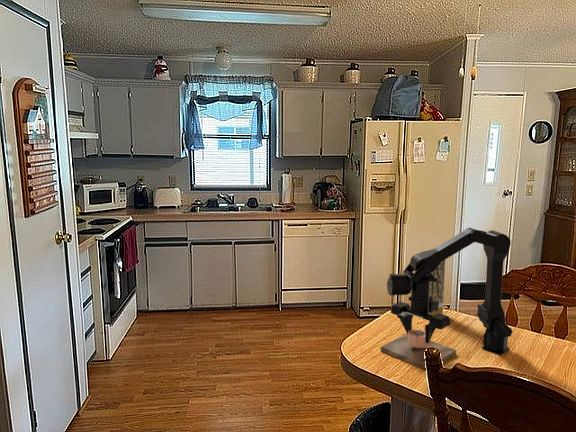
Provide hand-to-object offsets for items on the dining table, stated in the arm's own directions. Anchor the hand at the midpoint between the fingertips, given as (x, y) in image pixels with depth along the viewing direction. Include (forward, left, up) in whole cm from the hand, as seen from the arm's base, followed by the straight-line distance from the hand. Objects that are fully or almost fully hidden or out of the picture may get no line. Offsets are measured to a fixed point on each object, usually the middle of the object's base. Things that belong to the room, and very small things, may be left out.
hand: (418, 339), depth 146 cm
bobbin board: (0, 0, -4) cm, 4 cm away
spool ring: (0, 0, -1) cm, 1 cm away
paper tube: (+14, -33, -5) cm, 36 cm away
